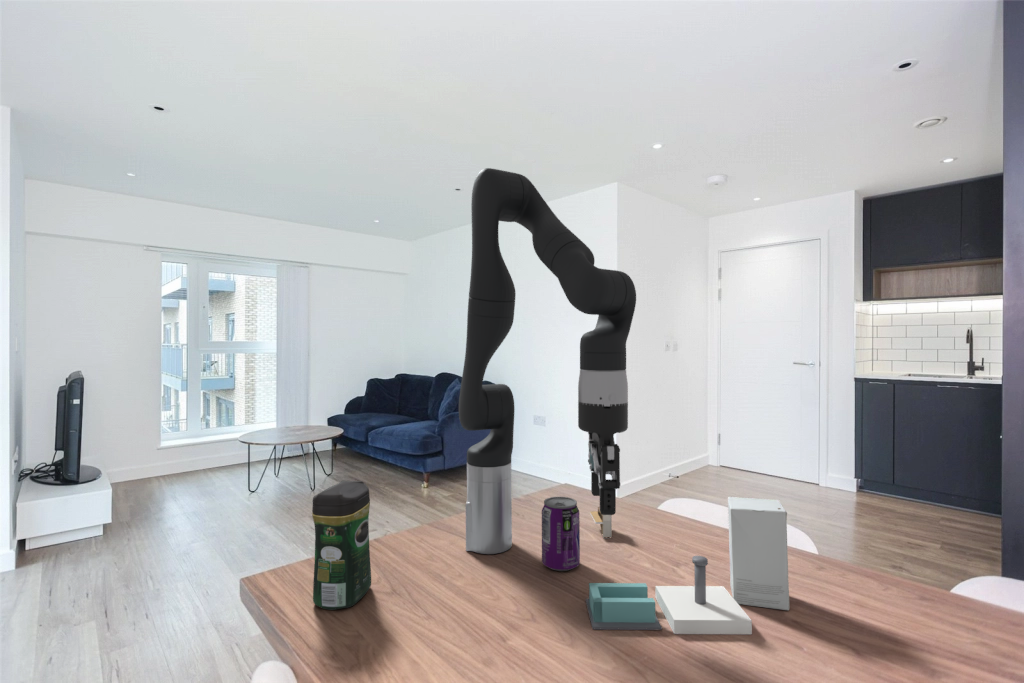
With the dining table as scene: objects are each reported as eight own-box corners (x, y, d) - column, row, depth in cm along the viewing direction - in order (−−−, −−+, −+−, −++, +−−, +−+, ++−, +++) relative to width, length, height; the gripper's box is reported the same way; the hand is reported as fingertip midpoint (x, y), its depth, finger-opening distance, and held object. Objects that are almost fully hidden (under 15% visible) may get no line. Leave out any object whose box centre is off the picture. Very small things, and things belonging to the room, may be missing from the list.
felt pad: (592, 629, 72) (592, 626, 72) (585, 601, 80) (585, 598, 80) (661, 629, 72) (661, 627, 72) (647, 601, 80) (647, 598, 80)
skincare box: (782, 593, 82) (781, 499, 83) (790, 613, 76) (789, 512, 76) (727, 585, 85) (727, 494, 85) (731, 604, 79) (730, 506, 79)
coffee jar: (335, 581, 88) (334, 475, 88) (377, 584, 86) (377, 477, 86) (303, 610, 78) (303, 492, 78) (350, 614, 77) (349, 494, 77)
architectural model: (595, 539, 106) (595, 505, 106) (590, 527, 113) (589, 495, 113) (611, 539, 106) (611, 504, 106) (604, 527, 113) (604, 494, 113)
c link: (594, 622, 74) (594, 601, 74) (589, 601, 79) (589, 582, 79) (655, 622, 73) (655, 602, 73) (645, 602, 79) (645, 583, 79)
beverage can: (578, 575, 89) (578, 508, 89) (539, 572, 91) (538, 506, 91) (581, 558, 96) (580, 496, 96) (544, 555, 98) (544, 494, 98)
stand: (674, 633, 71) (673, 573, 71) (655, 598, 81) (655, 545, 81) (751, 634, 71) (751, 574, 71) (723, 598, 81) (723, 545, 81)
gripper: (573, 393, 84) (573, 490, 84) (584, 405, 69) (584, 521, 69) (618, 393, 83) (618, 490, 84) (638, 405, 69) (638, 521, 69)
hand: (602, 504), depth 77 cm, fingers open, 8 cm apart
